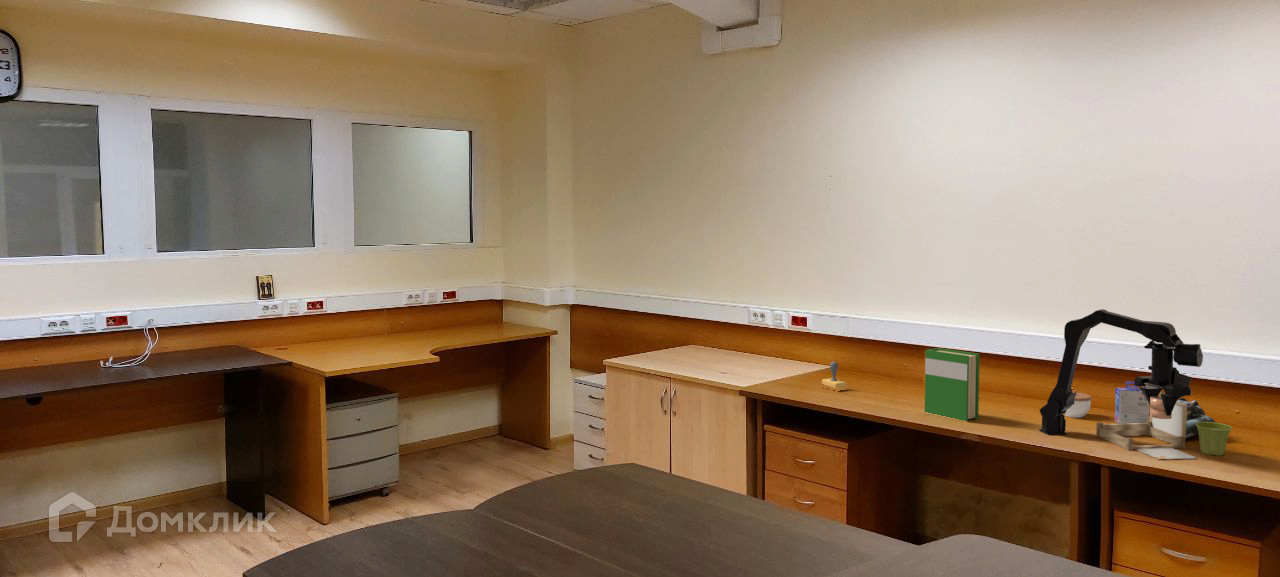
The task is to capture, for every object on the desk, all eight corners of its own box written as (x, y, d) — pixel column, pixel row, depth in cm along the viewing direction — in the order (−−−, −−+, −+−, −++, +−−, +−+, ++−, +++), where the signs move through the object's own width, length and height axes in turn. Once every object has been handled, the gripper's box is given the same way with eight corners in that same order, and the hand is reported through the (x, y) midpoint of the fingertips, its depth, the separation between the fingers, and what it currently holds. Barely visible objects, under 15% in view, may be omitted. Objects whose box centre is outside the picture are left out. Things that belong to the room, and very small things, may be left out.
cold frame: (1128, 450, 273) (1128, 435, 272) (1096, 435, 290) (1096, 422, 290) (1184, 448, 274) (1185, 434, 273) (1149, 434, 291) (1150, 420, 291)
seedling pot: (1158, 419, 267) (1159, 393, 266) (1145, 415, 273) (1145, 389, 272) (1177, 418, 267) (1178, 392, 267) (1164, 414, 274) (1164, 389, 273)
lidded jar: (1089, 413, 321) (1090, 388, 320) (1091, 420, 311) (1092, 394, 310) (1057, 411, 325) (1058, 386, 324) (1058, 417, 316) (1058, 392, 315)
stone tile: (1158, 460, 262) (1158, 458, 262) (1135, 450, 273) (1135, 449, 273) (1196, 459, 262) (1196, 457, 262) (1172, 449, 273) (1172, 447, 273)
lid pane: (1182, 438, 274) (1184, 405, 273) (1149, 425, 290) (1150, 394, 289) (1185, 438, 274) (1187, 405, 273) (1152, 425, 290) (1153, 394, 289)
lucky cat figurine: (1175, 441, 282) (1156, 400, 287) (1164, 446, 293) (1147, 407, 298) (1224, 429, 279) (1205, 388, 284) (1212, 435, 290) (1193, 395, 295)
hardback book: (978, 419, 316) (979, 353, 314) (966, 422, 312) (967, 356, 309) (936, 410, 330) (937, 347, 328) (924, 413, 326) (925, 350, 324)
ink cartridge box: (1143, 421, 309) (1145, 381, 307) (1149, 425, 303) (1151, 384, 302) (1113, 420, 311) (1114, 380, 309) (1118, 424, 305) (1120, 383, 304)
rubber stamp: (821, 387, 375) (821, 360, 374) (832, 386, 378) (832, 359, 377) (835, 391, 366) (836, 363, 365) (846, 390, 369) (847, 362, 368)
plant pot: (1238, 455, 266) (1239, 427, 265) (1216, 458, 262) (1218, 430, 261) (1208, 447, 274) (1209, 420, 274) (1187, 451, 271) (1188, 423, 270)
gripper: (1208, 367, 260) (1207, 418, 261) (1166, 358, 279) (1166, 405, 280) (1173, 369, 259) (1172, 420, 261) (1133, 359, 278) (1132, 407, 279)
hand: (1161, 413), depth 270 cm, fingers closed on seedling pot, 6 cm apart
